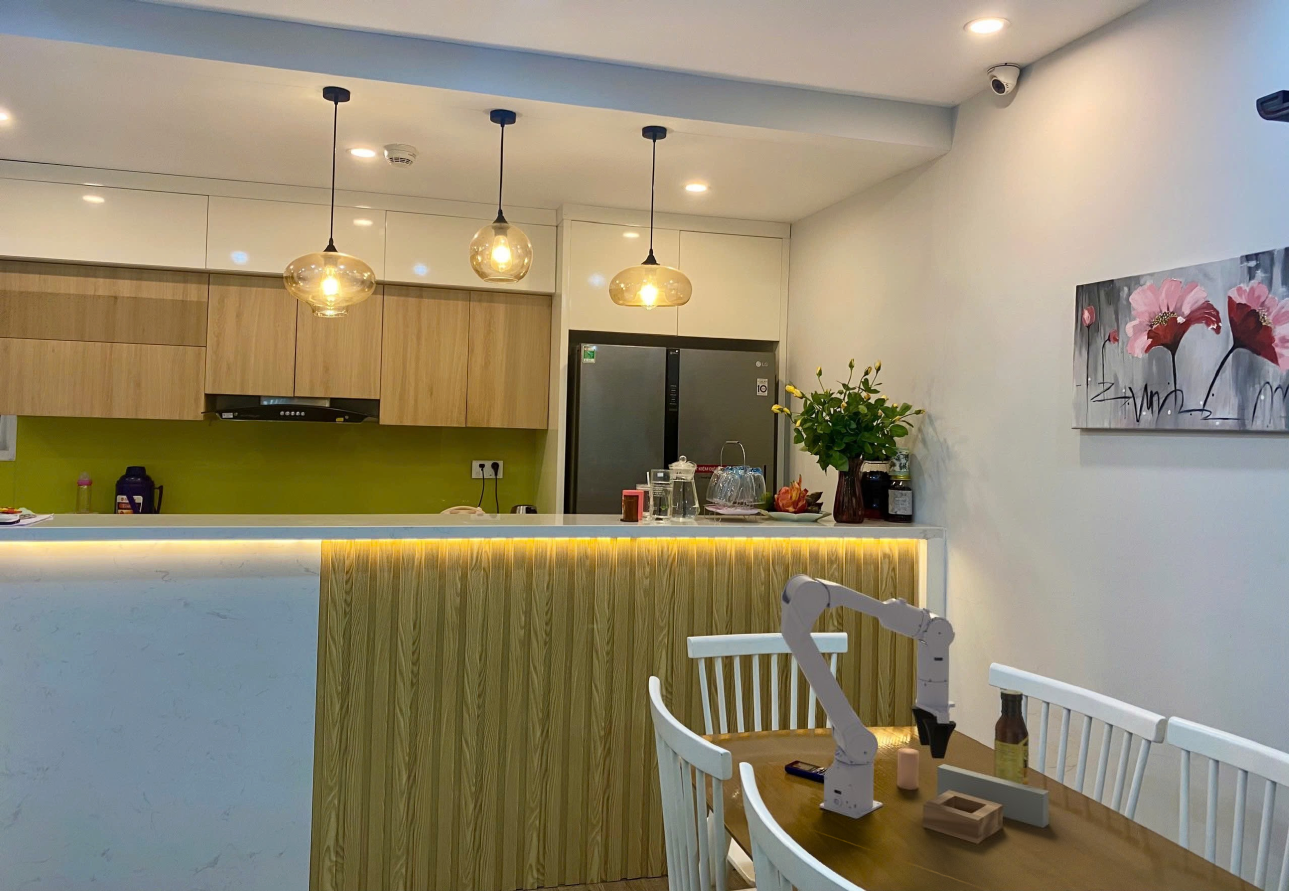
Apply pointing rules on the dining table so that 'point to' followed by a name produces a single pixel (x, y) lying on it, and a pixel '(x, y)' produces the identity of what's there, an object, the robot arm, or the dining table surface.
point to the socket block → (963, 816)
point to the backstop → (997, 793)
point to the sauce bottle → (1011, 740)
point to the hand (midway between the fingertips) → (932, 751)
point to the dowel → (908, 768)
